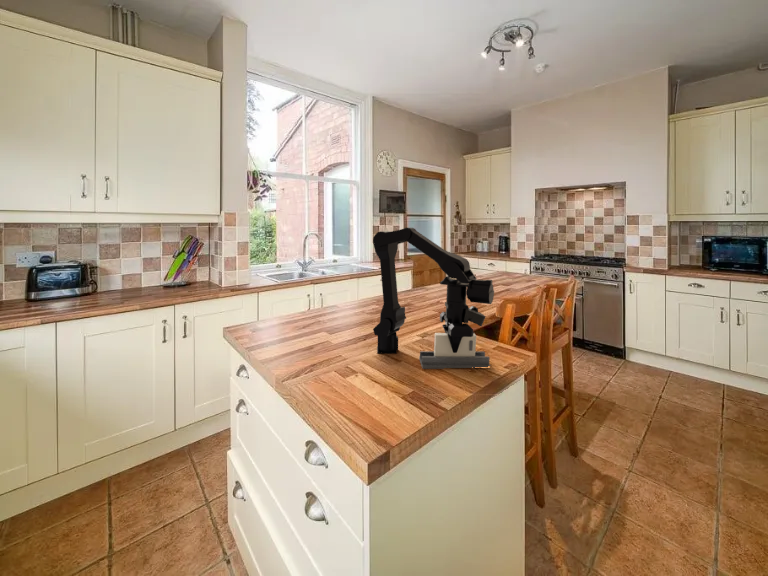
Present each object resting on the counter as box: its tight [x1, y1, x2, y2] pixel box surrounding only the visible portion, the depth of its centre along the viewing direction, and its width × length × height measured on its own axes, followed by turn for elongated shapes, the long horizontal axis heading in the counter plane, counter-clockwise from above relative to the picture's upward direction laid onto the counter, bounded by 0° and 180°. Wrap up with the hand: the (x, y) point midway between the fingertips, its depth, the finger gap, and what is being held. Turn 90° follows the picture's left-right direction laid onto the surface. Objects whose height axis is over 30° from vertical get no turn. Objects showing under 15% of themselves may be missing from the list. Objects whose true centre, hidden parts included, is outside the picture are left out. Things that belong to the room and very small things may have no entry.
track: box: [419, 350, 492, 370], centre depth 108 cm, size 20×8×3 cm, turn 91°
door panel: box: [433, 332, 477, 356], centre depth 107 cm, size 12×3×7 cm, turn 91°
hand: (453, 351), depth 108 cm, fingers closed on door panel, 2 cm apart
